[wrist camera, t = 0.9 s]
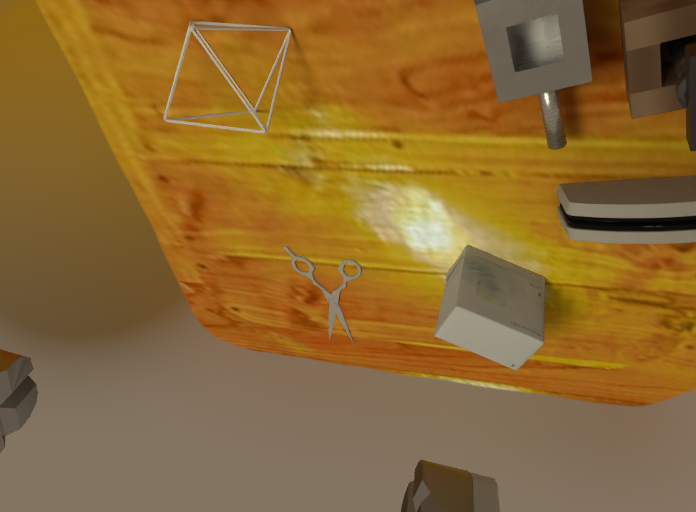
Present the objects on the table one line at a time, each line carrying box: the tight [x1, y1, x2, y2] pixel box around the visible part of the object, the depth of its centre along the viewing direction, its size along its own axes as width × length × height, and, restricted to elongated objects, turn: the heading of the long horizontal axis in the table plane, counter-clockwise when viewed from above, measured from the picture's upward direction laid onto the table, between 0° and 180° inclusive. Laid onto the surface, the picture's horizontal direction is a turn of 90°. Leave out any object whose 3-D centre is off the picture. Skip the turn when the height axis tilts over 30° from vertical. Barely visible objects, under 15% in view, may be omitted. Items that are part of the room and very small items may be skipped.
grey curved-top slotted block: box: [557, 176, 696, 244], centre depth 50 cm, size 17×5×10 cm, turn 106°
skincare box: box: [434, 245, 545, 370], centre depth 63 cm, size 10×6×10 cm, turn 73°
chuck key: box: [666, 34, 696, 151], centre depth 39 cm, size 3×7×11 cm, turn 23°
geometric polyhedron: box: [163, 21, 292, 134], centre depth 52 cm, size 12×11×9 cm
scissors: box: [284, 246, 361, 342], centre depth 78 cm, size 11×1×20 cm
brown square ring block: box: [619, 0, 696, 119], centre depth 41 cm, size 8×8×5 cm
